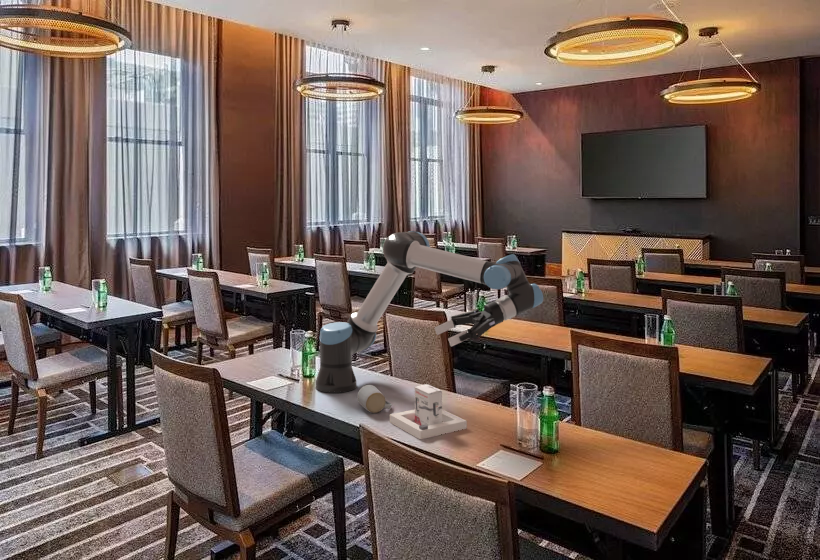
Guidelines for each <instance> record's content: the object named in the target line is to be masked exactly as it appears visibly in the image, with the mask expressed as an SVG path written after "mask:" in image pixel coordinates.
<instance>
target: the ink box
mask: <svg viewBox="0 0 820 560" xmlns="http://www.w3.org/2000/svg"><path fill="white" fill-rule="evenodd" d="M414 409H415V420H414V423H416V424H418V425H420V426H421V425H427V426H430V425H434V424H439V423H443V422H442V409H443V391H442V390H441V389H439V388H437V387H435V386H432V385H431V384H428V383H425V384H421V385H418V386H414Z"/></svg>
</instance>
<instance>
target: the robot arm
mask: <svg viewBox="0 0 820 560" xmlns="http://www.w3.org/2000/svg"><path fill="white" fill-rule="evenodd" d="M382 253H383V256H384V258H385V260H386V262H387V263H386V265H384V268H383V270H382V271H381V273H380V275H379V276H378V278H377V279H376V281H375V283H374V284H373V286H372V288H370V291H369V293H367V296H366V298H365V299H364V300H363V302H362V304H361V306H360V307H359V309H358V311H356V312H352V313H351V315H350V316H349V318H348V319H347V322H346V321H345V322H344V321H343V322H342V321H336V322H335V321H334V322H330V323H327V324H325V325H322V327H321V328H320V331H319V368H318V373H317V376H316V379H315V389H316V391H320V392H324V393H331V394H332V393H333V394H334V393H335V394H336V393H338V394H339V393H347V392H351V391H353V390H356V388H357V378H356V376H355V372H354V369H353V361H352V359H353V355H354V354H356V353H360V352H363V351H365V350H367V349H368V348H370V347H371V346H372V345H373V344H374V343H375V341H376V338H377V333H376V332H378V329H379V326H378V322H379V321H380V319H381V317H382V316H383V314H384V313H385V311H387V308H388V307H389V304H390V303H391V301H392V300H393V299H394V296H395V295H396V293H397V292H398V290H399V289H400V287H401V285H402V284H403V283H404V281H405V279H406V277H407V276H408V275H412V274H414V272H415V271H416V269H417V268H420V269H424V270H428V271H432V272H435V273H439V274H443V275H447V276H452V277H455V278H459V279H462V280H466V281H470V282H471V281H472V282H475V283H478V284H481V285H482V284H483V285H485V286H487V287H489V288H490V289H492V290H503V289H505V288H506V290H507V292H508V294H507V295H504V296H501V297H499V298H497V299H496V300H495V301H491V302H489V303H487V304H485V305H484V307H483V310H482V311H480V310H479V309H478V308H476V309H474V310H471V311H467V312H464V313H459V314H455V315H452V316H450V319H449V320H448V321H445V322H443V323H441V324H439V325H437V326H435V327H434V331H435V334H436V336H438V335H441V334H443V333H444V332H445V333H446V332H448V331H450V330H451V329H455V328H456V327H457V326H463V325H468V324H471V325H472V326H471V327H470V328H467V330H464V331H462V332H459V333H457V334H455V335H453V336H450V337H448V338H447V340H448V342H449V346H450V347H454V346H456V345H458V344H460V343H462V342H464V341H468V340H469V339H474V340H477V339H479V338H480V337H481V336H482V335H484V334H485V333H486V332H487V331H489V330H490V329H491V328H493V327H495V326H497V325H499V324H501V323H503V322H504V321H507V320H512V318H514V317H516V316H518V315H521V314H524V313H525V312H527V311H530V310H532V309H535V308H536V307H538V306H539V305H541V304H542V303H543V302H544V293H543V291H542V290H541V288H540V287H539V285H538V284H537V283H530V282H529V280H528V277H527V276H526V273H525V271H524V269H523V267H522V265H521V262H520V261H519V259H518V257H517V255H515V254H513V253H512V254H509V255H506V256H504V257H502V258H499V259H498V260H497V261H496V262H493V261H488V260H483V259H480V258H475V257H472V256H468V255H463V254H460V253H455V252H452V251H446V250H442V249H438V248H434V247H431V245H430V241H429V239H428V238H427V236H426V235H424V234H423V233H421V232H419V231H414V230H409V231H403V232H402V231H400V232H395V233H391V234H390V235H389V236H387V238H386V239H385V240H384V242H383V245H382Z"/></svg>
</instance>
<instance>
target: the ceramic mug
mask: <svg viewBox="0 0 820 560" xmlns="http://www.w3.org/2000/svg"><path fill="white" fill-rule="evenodd" d="M357 401H358V403H359V405H360V406H361V407H363V408H364V409H365V410H366V411H368V412H369V413H372V414H377V413H380V412H381V411H382V410H383V409H387V410H391V409H392V406H393V404H392V403H391V402H390V401H388V400H386V397H385V395H384V393H382V392H381V391H380V390H379V389H378V388H377V387H376V386H375V385H372V384H367V385H363V386H362V387H360V389H359V391H358V392H357Z"/></svg>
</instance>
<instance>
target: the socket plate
mask: <svg viewBox="0 0 820 560" xmlns="http://www.w3.org/2000/svg"><path fill="white" fill-rule="evenodd" d="M442 421H443V422H442V423H439V424H434V425H430V426H427V425H421V426H420V425H418V424H416V423H415V408H414V409H410V410H405V411H401V412H395V413H391V414H389V423H390V424H392V425H394V426H396V427H397V428H399V429H401V430H403V431H404V432H406V433H408V434H409V435H411V436H413V437H414V438H416V439H418V440H425V439H428V438H433V437H437V436H438V437H439V436H441V434H442V435H445V433H446V434H450V433H455V432H459V431H463V430H467V428H468V427H467V426H468V425H467V423H468V422H467V420H466V419H463V418H461V417H460V416H457V415H455V414H453V413H451V412H449V411H447V410H445V409H443V408H442ZM462 429H463V430H462ZM458 430H459V431H458ZM454 431H455V432H454Z"/></svg>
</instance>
